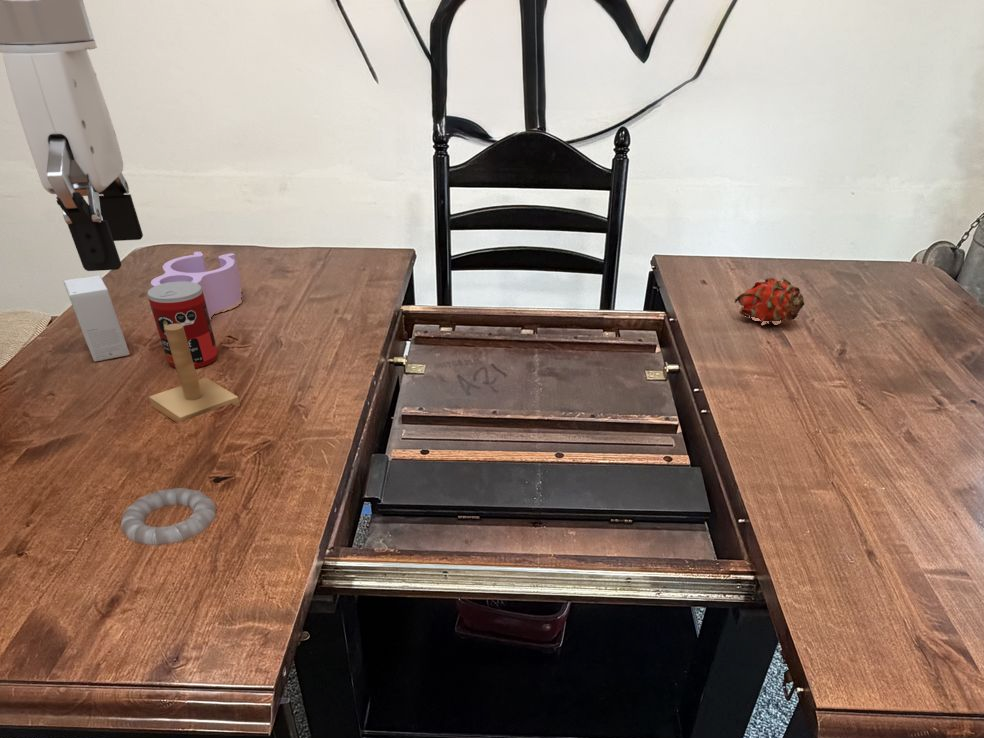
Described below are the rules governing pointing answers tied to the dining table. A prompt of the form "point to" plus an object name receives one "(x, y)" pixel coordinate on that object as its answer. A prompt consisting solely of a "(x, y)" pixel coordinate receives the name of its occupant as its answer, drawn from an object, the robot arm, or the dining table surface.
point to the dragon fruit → (771, 301)
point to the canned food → (184, 319)
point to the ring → (190, 527)
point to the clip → (206, 279)
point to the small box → (97, 317)
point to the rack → (188, 384)
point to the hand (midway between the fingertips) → (116, 253)
